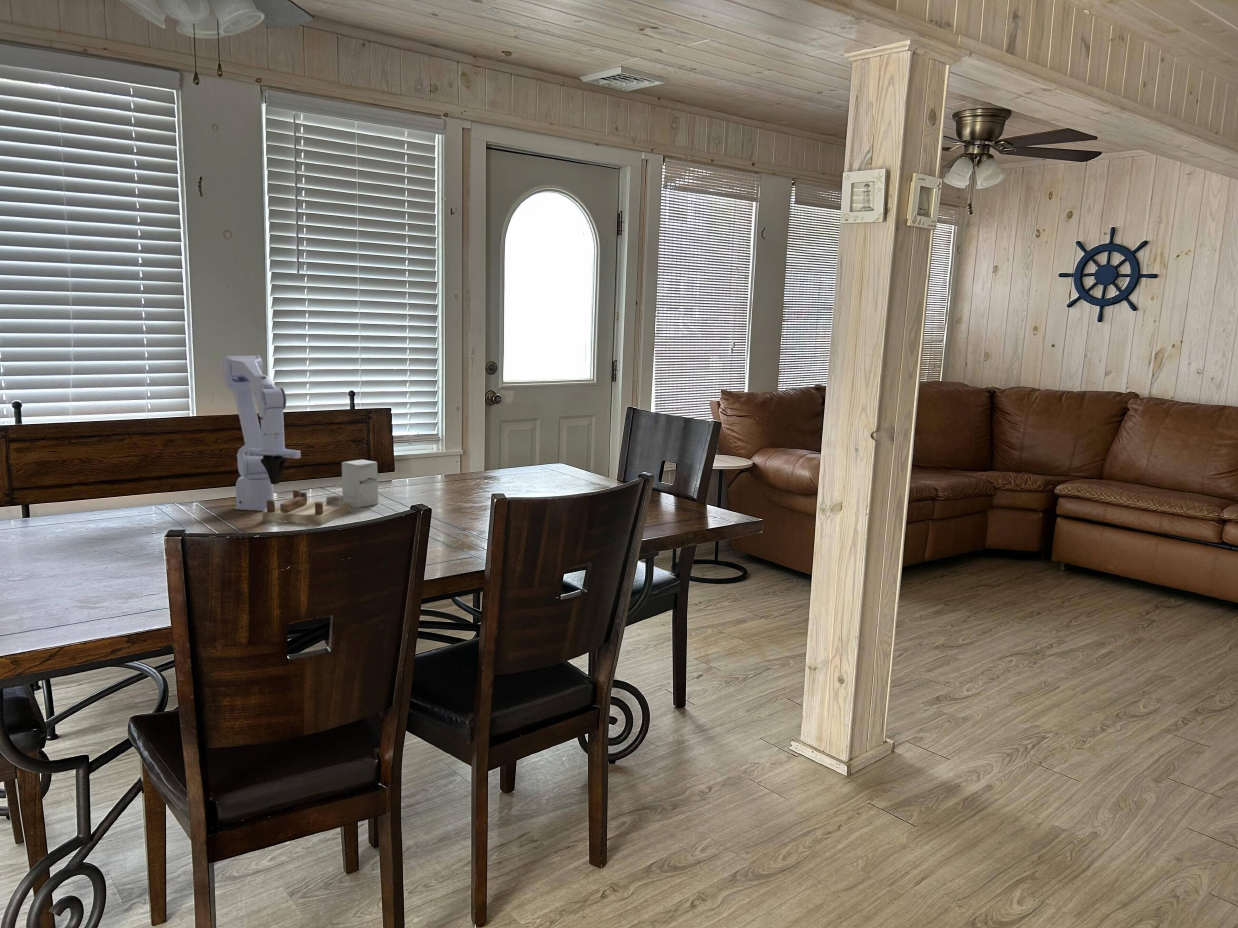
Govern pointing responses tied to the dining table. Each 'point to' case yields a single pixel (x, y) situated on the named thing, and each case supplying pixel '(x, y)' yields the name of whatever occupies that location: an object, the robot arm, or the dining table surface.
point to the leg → (294, 503)
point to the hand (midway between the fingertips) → (275, 483)
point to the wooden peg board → (308, 511)
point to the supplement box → (360, 483)
